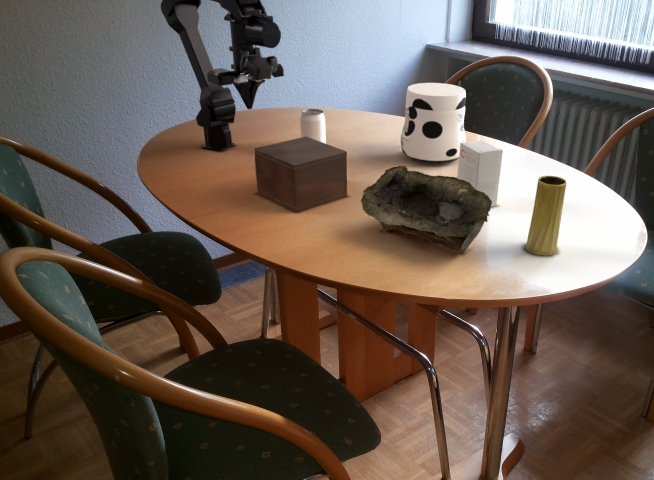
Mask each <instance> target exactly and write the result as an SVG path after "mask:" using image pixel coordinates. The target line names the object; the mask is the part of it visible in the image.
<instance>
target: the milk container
mask: <svg viewBox="0 0 654 480" xmlns="http://www.w3.org/2000/svg"><path fill="white" fill-rule="evenodd" d="M466 97H467V93H466V89H465V88H463V87H461V86H459V85H455V84H450V83H442V82H419V83H413V84H411V85H409V86H408V87H407V89H406V95H405V107H404V124H403V127H402V130H401V133H400V148H401V151H402V153H403V154H404V155H405V156H406V157H407V158H409V159H411V160H413V161H417V162H420V163H427V164H444V163H445V164H446V163H450V162H453V161H456V160H459V153H460V143H461V142H467V140H466V139H467V138H466V131H465V125H464V124H465V121H464V120H465V114H466V102H467V100H466V99H467V98H466Z"/></svg>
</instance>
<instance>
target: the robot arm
mask: <svg viewBox="0 0 654 480" xmlns="http://www.w3.org/2000/svg"><path fill="white" fill-rule="evenodd" d="M210 1H211V2H214V3H215V2H216V3H218V4H219V5H220V8H221V9H224V10H226V11H227V13H226V14H225V16H224V17H223V21H227V22H229V29H230V39H231V45H230V46H228V49H229V52H232V60H233V63H232V64H230V69H231V70H230V69H226V68H222V67H219V68H214V67H213V64H212V62H211V59H210V56H209V54H208V52H207V49H206V47H205V44H204V42H203V39H202V37H201V33H200V32H199V21H200V15H199V11H198V10H199V8H200V7H201V4H202V0H161V2H160V11H161V13H162V15H163V17H164V19H165V21H166V24H167V25H168V26H169V28H171V29H172V30H173V31H174V32H175V33H176V34H177V35H178V36H179V38H180V41H181V43H182V46H183V48H184V51H185V53H186V56H187V58H188V61H189V64H190V65H191V68H192V71H193V73H194V75H195V78H196V80H197V84H198V86H199V88H200V89H199V90H200V94H199V105H200V109H199V112H198V113H197V115H196V116H195V120H196V124H197V126H198V127H201V128H203V135H204V144H203V145H201V148H202V149H207V150H212V151H217V152H223V151H225V150H227V149H229V148H232V147H234V146H235V145H236V144H235V143H234V142H233V140H232V131H231V130H230V129H231V128H230V124H234V123H235V118H236V111H237V107H236V104H235V103H236V101H235V99H234V97H233V95H232V91H231V89H230V88H229V87H228V86H229V85H233V87H234V88H235V90H236V91H237V93H238V94H239V96H240V98H241V100H242V102H243V104H244V105H245V108H246V109H247V110H252V109H253V106H254V103H255V98H256V95H257V93H258V89H259V88H260V86H261V85H262V84H264V83H265V82H266V80H270V79H272V77H273V78H282V77H285V69H284V66H283V65H282V64H281V63H278V58H277V57H276V56H275V55H267V56H264V57H263V56H262V53H261V50H260V49H261V48H260V47H262V48H266V49H267V48H268V49H275V48H276V47H278V46H279V44H280V42H281V39H282V32H281V31H282V30H280V27H279V25H278V24H277V23H276V22H275V21H274V16H273V15H268V13H267V11H266V8H265V7H264V5H263V3H262V1H261V0H210ZM224 86H227V87H224Z"/></svg>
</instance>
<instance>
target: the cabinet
mask: <svg viewBox="0 0 654 480" xmlns="http://www.w3.org/2000/svg"><path fill="white" fill-rule="evenodd" d="M253 149H254V150H253V154H254V153H255V161H254V167H255V166H256V174H255V179H256V178H257V186H256V189H257V194H258V195H260V196H262V197H264V198H265V199H268V200H270V201H271V202H274V203H276V204H278V205H280V206H282V207H284V208H286V209H289V210H291V211H292V212H295V213H299V212H302V211H306V210H309V209H312V208H315V207H318V206H321V205H324V204H325V205H326V204H327V203H330V202H331V203H332V202H334V201H338V200H341V199H343V198H346V197H348V151H346V150H344V149H342V148H338V147H336V146H334V145H331V144H327V143H326V144H325V143H322V142H320V141H317V140H314V139H312V138H309V137H302V138H301V137H298V138H293V139H290V140H285V141H280V142H276V143H272V144H266V145H263V146H259V147H254V148H253Z"/></svg>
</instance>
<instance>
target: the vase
mask: <svg viewBox="0 0 654 480" xmlns="http://www.w3.org/2000/svg"><path fill="white" fill-rule="evenodd" d="M567 183H568V182H567V180H566V179H565V178H563V177H560V176H556V175H543V176H539V177H538V179H537V185H536V190H535V196H534V197H535V198H534V203H533V204H534V205H533V209H532V215H531V219H530V225H529V229H528V235H527V240H526V244H525V249H526V250H527V251H528V252H529V253H532V254H533V255H537V256H552V255H555V254H556V253H557V251H558V241H559V235H560V227H561V221H562V215H563V208H564V201H565V194H566V188H567Z"/></svg>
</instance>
